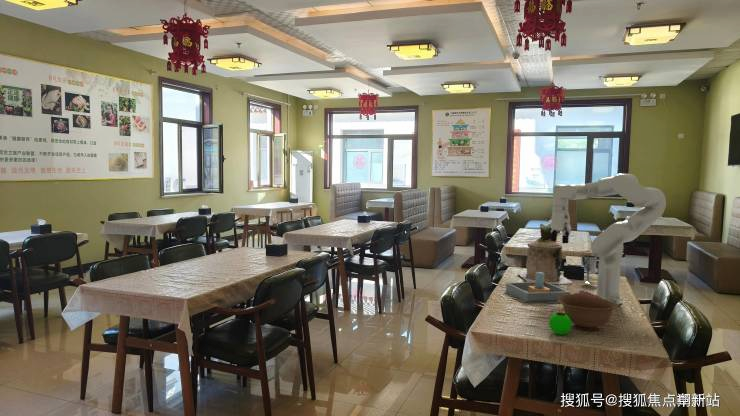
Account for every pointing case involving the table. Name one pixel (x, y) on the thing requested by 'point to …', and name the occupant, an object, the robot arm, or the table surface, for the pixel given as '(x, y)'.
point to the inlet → (534, 290)
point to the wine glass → (588, 265)
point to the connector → (539, 280)
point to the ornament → (560, 323)
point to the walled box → (522, 293)
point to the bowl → (587, 310)
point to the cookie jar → (544, 259)
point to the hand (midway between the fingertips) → (559, 242)
